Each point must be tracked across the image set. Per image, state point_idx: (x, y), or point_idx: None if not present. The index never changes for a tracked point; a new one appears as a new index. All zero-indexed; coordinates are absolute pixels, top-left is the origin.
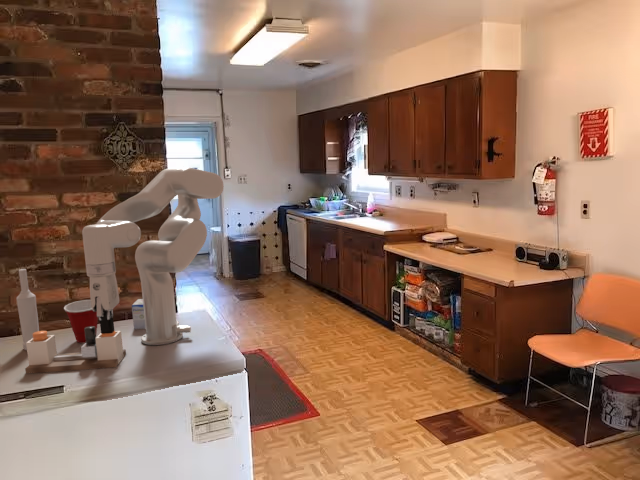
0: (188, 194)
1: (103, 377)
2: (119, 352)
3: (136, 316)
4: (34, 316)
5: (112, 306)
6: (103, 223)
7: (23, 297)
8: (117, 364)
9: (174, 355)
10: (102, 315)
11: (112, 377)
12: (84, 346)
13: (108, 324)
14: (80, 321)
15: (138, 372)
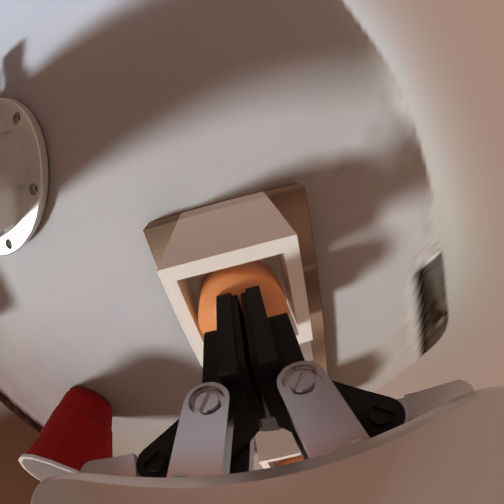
0: None
1: (384, 181)
2: (232, 210)
3: None
4: None
5: (423, 462)
6: None
7: None
8: (272, 189)
9: (152, 4)
10: (442, 395)
11: (386, 148)
12: (307, 352)
13: (286, 343)
14: (102, 455)
15: (343, 66)
